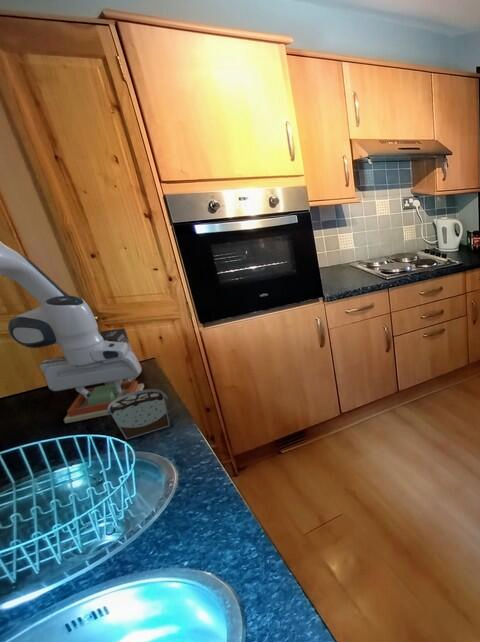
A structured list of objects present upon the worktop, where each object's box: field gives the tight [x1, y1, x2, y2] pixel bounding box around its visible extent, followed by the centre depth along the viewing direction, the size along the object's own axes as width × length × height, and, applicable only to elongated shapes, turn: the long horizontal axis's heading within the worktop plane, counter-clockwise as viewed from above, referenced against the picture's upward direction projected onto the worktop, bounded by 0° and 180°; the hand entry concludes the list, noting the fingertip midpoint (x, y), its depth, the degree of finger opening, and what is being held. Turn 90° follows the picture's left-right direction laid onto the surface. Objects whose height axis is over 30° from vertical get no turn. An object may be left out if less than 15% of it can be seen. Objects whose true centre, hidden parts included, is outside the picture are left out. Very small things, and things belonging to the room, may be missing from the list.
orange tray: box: [63, 379, 145, 424], centre depth 131 cm, size 15×15×3 cm
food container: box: [107, 388, 171, 440], centre depth 119 cm, size 12×6×10 cm, turn 130°
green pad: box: [88, 384, 119, 406], centre depth 131 cm, size 5×8×3 cm, turn 27°
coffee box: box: [99, 328, 137, 385], centre depth 141 cm, size 9×6×16 cm
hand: (104, 395), depth 131 cm, fingers closed on green pad, 5 cm apart
